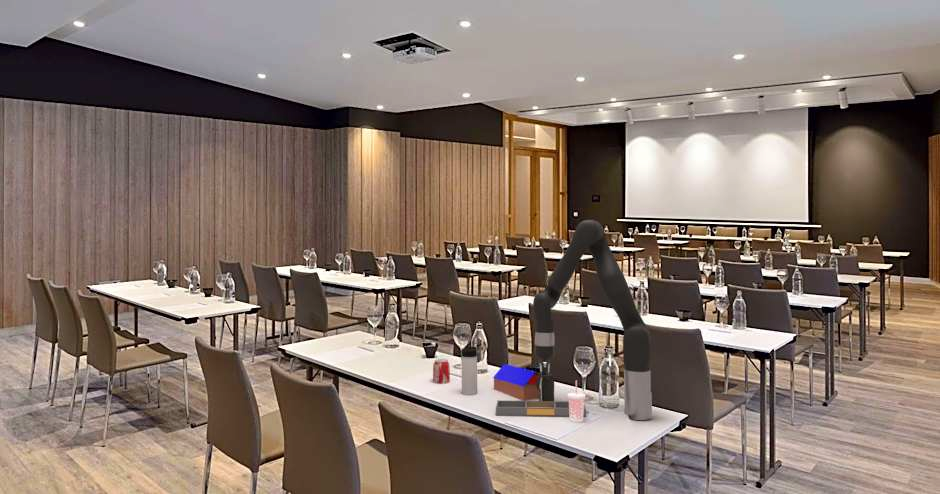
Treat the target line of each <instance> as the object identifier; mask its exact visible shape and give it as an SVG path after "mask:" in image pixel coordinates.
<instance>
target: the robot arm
mask: <svg viewBox="0 0 940 494" xmlns="http://www.w3.org/2000/svg"><path fill="white" fill-rule="evenodd" d="M587 250H588V251H589V253H590V254H591V257H592V259H593V262H594V267H595V272H596V277H597V281H598V284H599V285H600V289H601V291H602V292H603V295H604V296H605V298H606V300H607V302H608V303H609V304H610V306H611V308H612V309H613V310H614V312H615V313H616V315H617V317H618V318H619V321H620V323H621V326H622V330H623V333H624V334H623V335H622V336H623V337H622V356H623V358H622V361H623V367H624V368H623V370H624V371H623V375H624V377H623V379H624V380H623V386H624V387H623V388H624V389H623V391H624V395H623V398H624V401H623V402H624V404H623V405H624V408H623V409H624V411H623V412H624V414H625V415H626V416H627V417H628V418H629V420H632V421H633V420H634V421H645V420H653V401H652V399H653V394H652V393H653V392H652V391H651V360H650V358H651V357H650V354H651V353H650V343H651V339H652V335H651V334H652V333H651V331H650V330H649V328H648V326H647V325H646V324H645V321H644V319H643V318H642V316H641V314H640V313H639V310H638V308H637V306H636V303H635V301H634V297H633V295H632V292H631V290H630V288H629V287H630V286H629V285H628V282H627V281H626V278H625V276H624V273H623V271H622V270H621V267H620V266H619V263H618V261H617V260H616V258H615V256H614V253H613V252H612V250H611V248H610V245H609V242H608V238H607V236H606V233H605V230H604V227H603V225H602V224H601V223H600V222H599V221H597V220H594V219H585V220H582V221H581V222H579V223H578V225H577V226H576V228H575V229H574V232H573V236H572V238H571V239H570V242H569V245H568V246H567V249H566V250H565V252H564V254H563V255H562V257H561V258H560V260H559V262H558V263H557V265H556V266H555V268H554V269H553V271H552V272H551V274H550V276H549V277H548V278H547V282H546V283H547V284H546V287H544V290H543V291H541V292H538V293H536V295H534V298H533V300H532V301H533V303H532V307H533V308H532V309H533V313H534V318H535V335H534V356H535V357H537V358H540V360H539V362H538V363H539V365H538V366H539V373H540V375H542V376H541V378H542V388H543V389H547V388H548V377H549V376H548V374H550V367H551V365H550V364H551V361H550V360H549V358H553V357H554V356H555V348H556V347H555V320H554V318H553V317H552V312H551V310H552V309H554V307H555V306H556V305H557V304H558V303H559V300H560V298H561V296H562V294H563V291H564V289H565V287H567V285H568V284H569V282H570V281H571V279H572V277H573V276H574V274H575V271H576V269H577V267H578V265H579V262H580V261H581V259H582V257H583V255H584V254H585V253H586V252H587ZM543 374H547V375H543Z"/></svg>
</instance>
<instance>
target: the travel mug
mask: <svg viewBox="0 0 940 494" xmlns="http://www.w3.org/2000/svg"><path fill="white" fill-rule="evenodd" d="M461 394H462V395H464V396H475V395H476V396H477V395H478V348H477V347H476V346H469V347H468V346H467V347H464V348H462V349H461Z"/></svg>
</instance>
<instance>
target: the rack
mask: <svg viewBox="0 0 940 494" xmlns="http://www.w3.org/2000/svg"><path fill="white" fill-rule="evenodd" d="M495 416H497V417H498V416H500V417H501V416H502V417H506V416H507V417H509V416H510V417H549V418H550V417H551V418H552V417H554V418H555V417H557V418H560V417H562V418H570V415H569V401H562V400H561V401H559V400H558V401H555V400H554V401H539V400H526V401H523V400H497V401H496V405H495ZM583 418H587V409H586V405H585V403H584V414H583Z"/></svg>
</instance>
